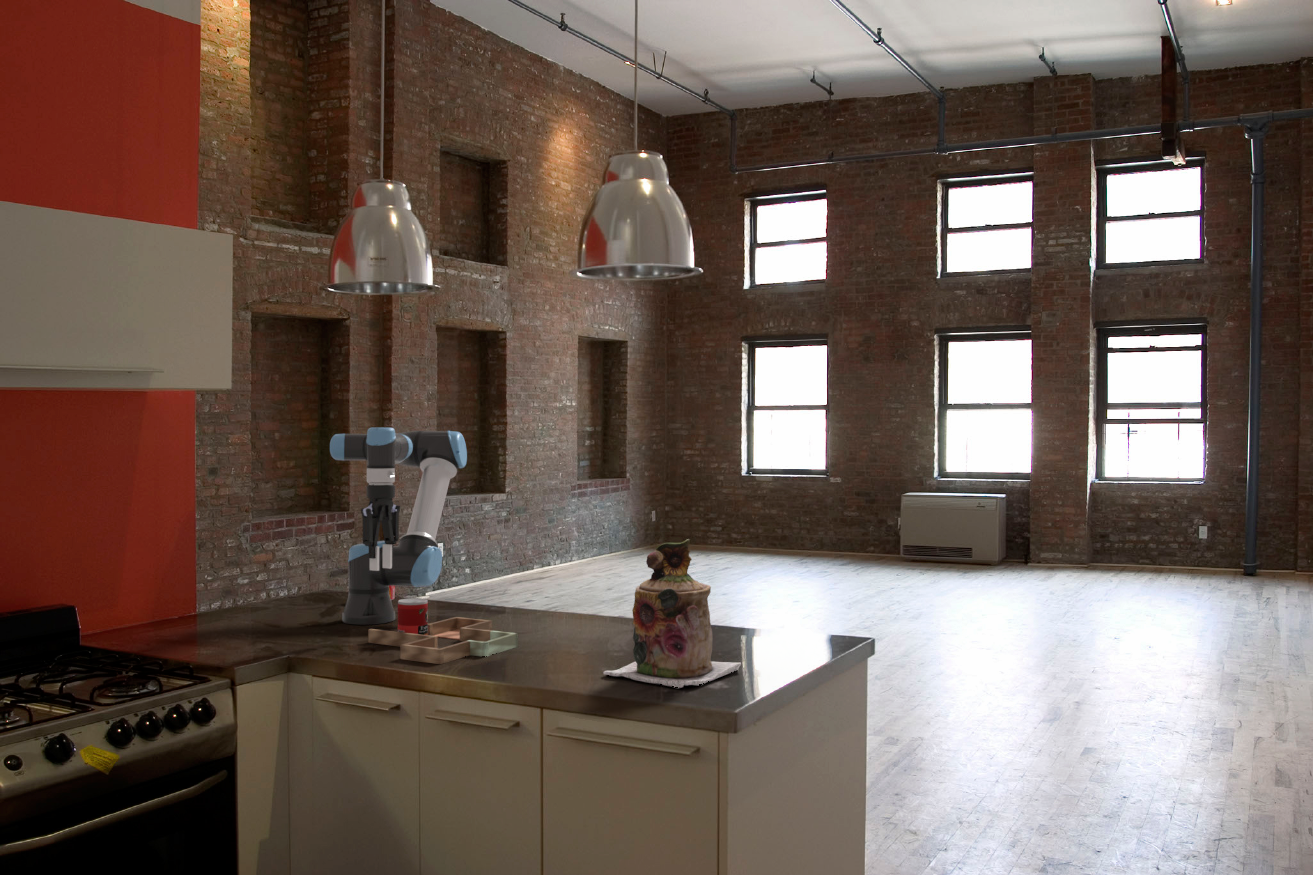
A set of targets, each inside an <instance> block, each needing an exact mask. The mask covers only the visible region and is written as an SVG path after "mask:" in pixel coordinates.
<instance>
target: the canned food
mask: <svg viewBox="0 0 1313 875" xmlns="http://www.w3.org/2000/svg"><path fill="white" fill-rule="evenodd" d="M428 605H429V602H428V599H426V598H419V597H417V598H416V597H413V598H411V597H410V598H401V599H398V601H397V632H404V633H413V634H421V635H428V624H429V621H428V620H429V615H428V614H429V613H428V612H429V608H428V607H429V606H428Z"/></svg>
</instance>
